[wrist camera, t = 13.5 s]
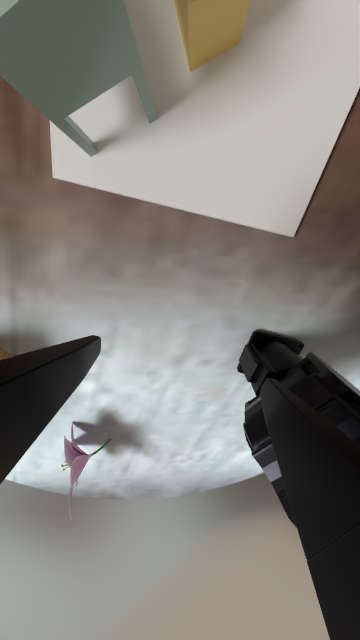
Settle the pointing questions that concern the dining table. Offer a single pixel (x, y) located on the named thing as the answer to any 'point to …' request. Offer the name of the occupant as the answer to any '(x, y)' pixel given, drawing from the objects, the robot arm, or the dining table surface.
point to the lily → (75, 461)
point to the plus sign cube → (209, 27)
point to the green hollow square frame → (69, 56)
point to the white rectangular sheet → (225, 115)
